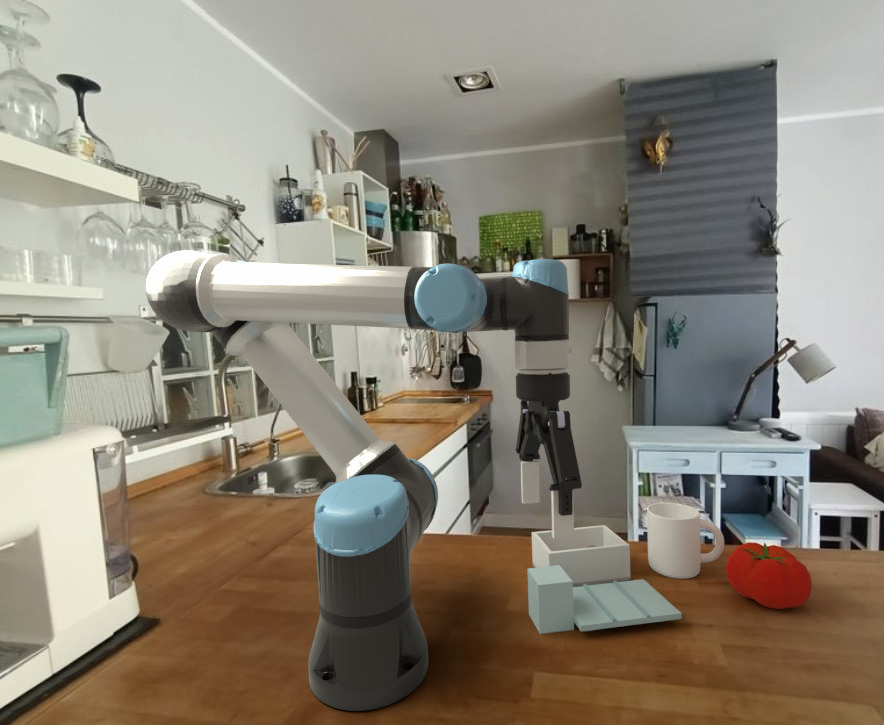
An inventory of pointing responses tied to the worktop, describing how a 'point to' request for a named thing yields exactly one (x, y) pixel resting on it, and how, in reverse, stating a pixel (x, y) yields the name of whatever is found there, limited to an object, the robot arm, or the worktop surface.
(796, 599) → the tomato
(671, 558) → the mug
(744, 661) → the worktop surface
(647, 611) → the lid
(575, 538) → the tub
